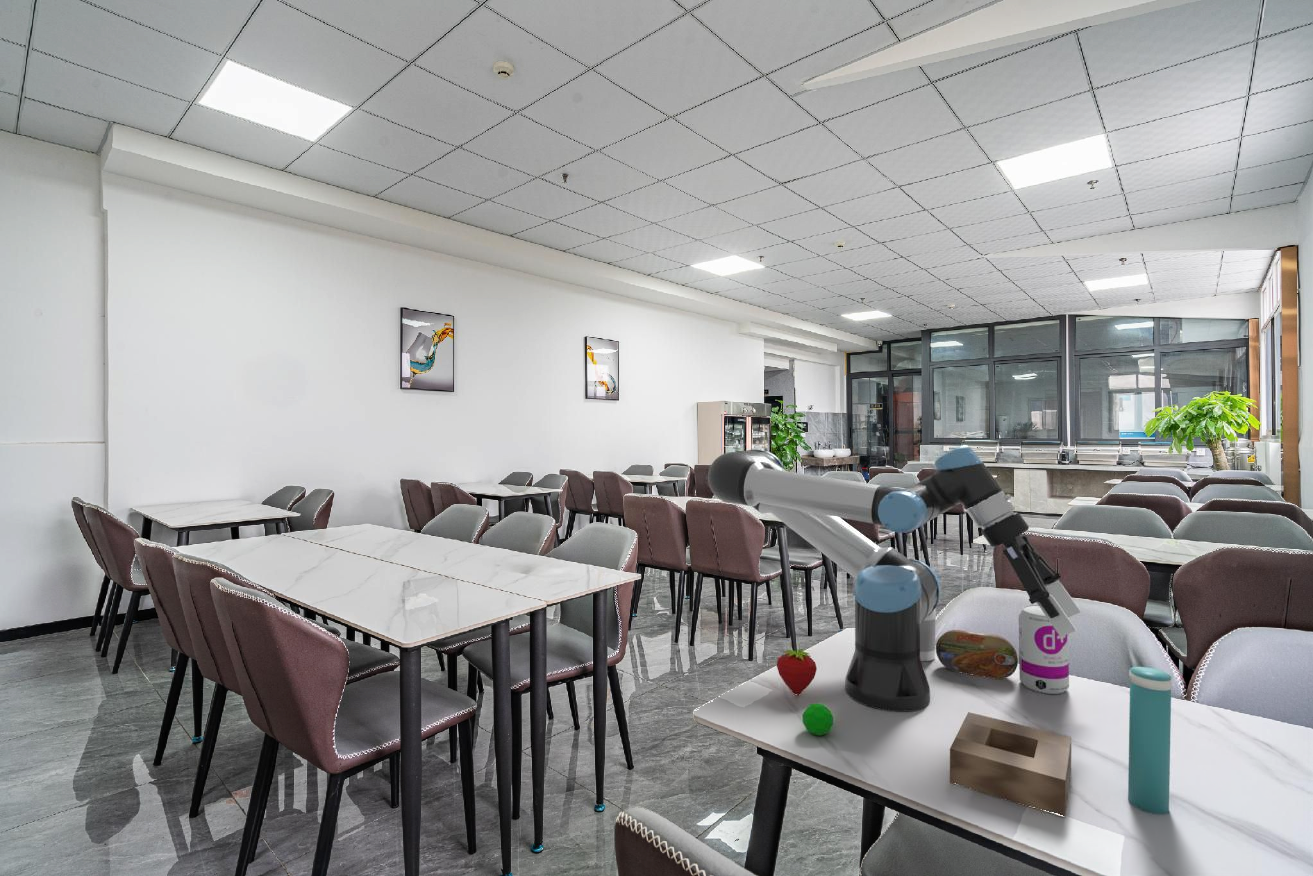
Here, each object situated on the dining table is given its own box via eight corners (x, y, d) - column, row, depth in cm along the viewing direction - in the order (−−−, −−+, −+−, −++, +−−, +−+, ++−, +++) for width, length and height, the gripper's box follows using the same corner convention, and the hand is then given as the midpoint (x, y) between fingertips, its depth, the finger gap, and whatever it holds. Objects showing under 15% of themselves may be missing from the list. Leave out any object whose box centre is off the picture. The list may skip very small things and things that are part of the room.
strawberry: (780, 685, 126) (780, 635, 125) (819, 691, 123) (819, 640, 122) (773, 697, 120) (773, 644, 120) (813, 704, 117) (814, 650, 117)
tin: (935, 668, 134) (935, 628, 134) (937, 663, 137) (937, 624, 137) (1017, 683, 126) (1017, 641, 126) (1018, 678, 129) (1018, 636, 129)
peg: (1127, 806, 86) (1129, 674, 85) (1126, 790, 90) (1128, 664, 89) (1171, 819, 83) (1173, 682, 83) (1168, 801, 87) (1171, 671, 87)
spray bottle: (920, 664, 136) (921, 580, 136) (895, 653, 142) (895, 573, 142) (942, 658, 139) (942, 576, 139) (916, 648, 146) (917, 570, 145)
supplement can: (1076, 696, 120) (1075, 617, 119) (1028, 694, 121) (1027, 616, 121) (1058, 678, 128) (1057, 604, 127) (1013, 676, 129) (1012, 603, 129)
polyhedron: (797, 733, 106) (797, 705, 106) (811, 723, 110) (811, 696, 110) (824, 744, 103) (824, 714, 103) (838, 733, 107) (838, 704, 107)
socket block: (949, 782, 92) (949, 748, 92) (967, 742, 103) (968, 712, 103) (1064, 817, 84) (1065, 780, 84) (1070, 769, 95) (1071, 736, 95)
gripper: (1006, 517, 109) (1089, 633, 103) (1025, 504, 130) (1095, 599, 123) (967, 538, 113) (1043, 651, 106) (991, 522, 133) (1056, 615, 127)
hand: (1071, 623), depth 115 cm, fingers open, 13 cm apart
